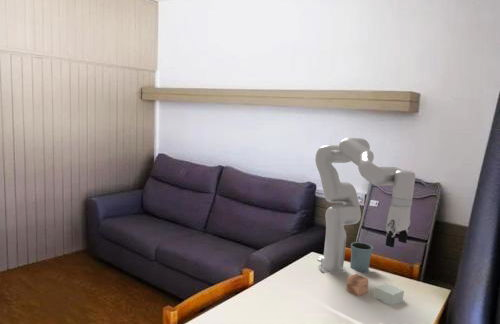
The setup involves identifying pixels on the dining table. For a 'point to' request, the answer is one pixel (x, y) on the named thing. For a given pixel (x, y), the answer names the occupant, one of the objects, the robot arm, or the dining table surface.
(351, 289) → the top block
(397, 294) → the base block
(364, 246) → the teal cup
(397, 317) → the dining table surface
